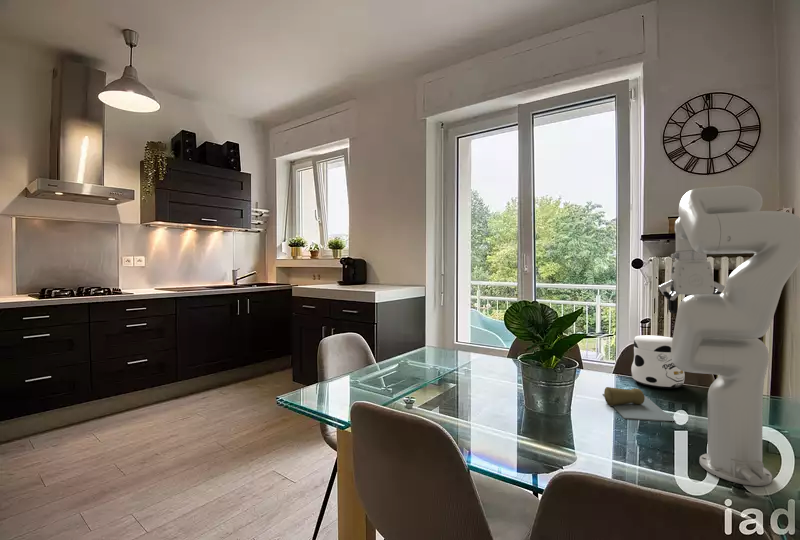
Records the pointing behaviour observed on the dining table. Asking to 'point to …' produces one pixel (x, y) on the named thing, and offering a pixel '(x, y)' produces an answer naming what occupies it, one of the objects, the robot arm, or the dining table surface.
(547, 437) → the dining table surface
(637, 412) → the mat
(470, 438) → the dining table surface
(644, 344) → the milk container
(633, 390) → the cork
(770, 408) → the dining table surface
